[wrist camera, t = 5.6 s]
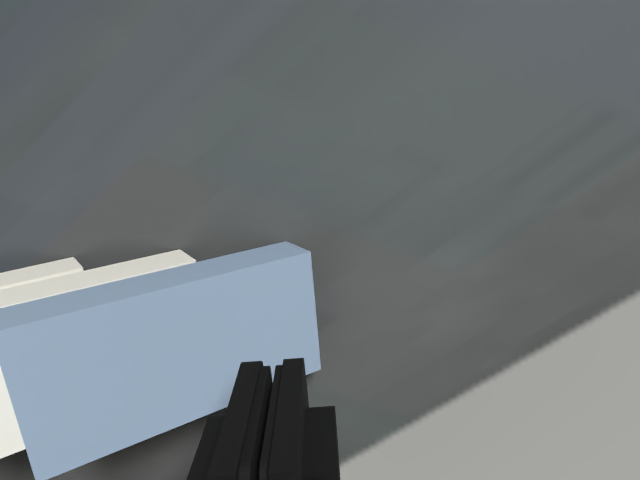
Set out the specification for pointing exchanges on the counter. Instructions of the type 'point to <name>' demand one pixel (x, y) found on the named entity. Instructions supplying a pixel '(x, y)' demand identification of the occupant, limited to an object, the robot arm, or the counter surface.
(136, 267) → the domino
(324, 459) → the robot arm
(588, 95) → the counter surface
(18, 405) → the domino
